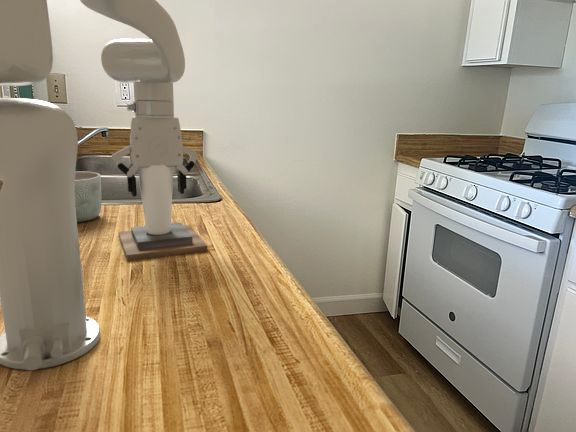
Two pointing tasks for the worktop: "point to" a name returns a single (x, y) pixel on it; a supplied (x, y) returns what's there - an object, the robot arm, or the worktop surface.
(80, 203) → the planter
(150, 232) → the drinking glass
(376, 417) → the worktop surface
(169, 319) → the worktop surface
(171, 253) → the base
